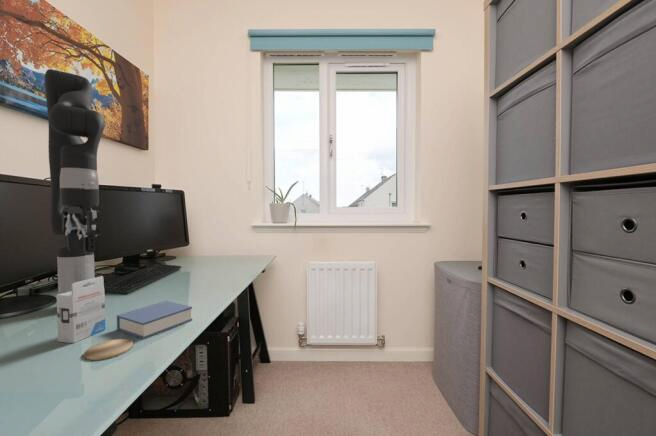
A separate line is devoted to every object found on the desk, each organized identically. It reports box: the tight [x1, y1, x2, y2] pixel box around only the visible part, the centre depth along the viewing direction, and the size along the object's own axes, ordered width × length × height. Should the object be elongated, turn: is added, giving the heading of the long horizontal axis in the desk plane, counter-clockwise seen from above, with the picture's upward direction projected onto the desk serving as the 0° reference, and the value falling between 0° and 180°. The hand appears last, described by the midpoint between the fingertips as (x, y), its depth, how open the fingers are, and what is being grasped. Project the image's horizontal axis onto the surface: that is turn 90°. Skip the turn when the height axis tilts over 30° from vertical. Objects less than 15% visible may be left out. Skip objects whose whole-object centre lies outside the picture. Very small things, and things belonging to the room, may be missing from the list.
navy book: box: [116, 300, 193, 340], centre depth 82 cm, size 12×14×4 cm
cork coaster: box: [83, 338, 134, 361], centre depth 67 cm, size 9×9×1 cm
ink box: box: [56, 275, 106, 344], centre depth 75 cm, size 8×5×15 cm, turn 168°
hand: (81, 250), depth 75 cm, fingers open, 8 cm apart
